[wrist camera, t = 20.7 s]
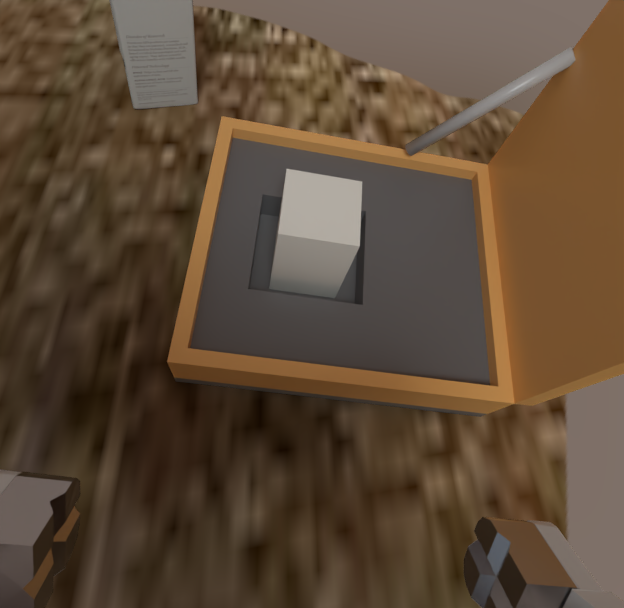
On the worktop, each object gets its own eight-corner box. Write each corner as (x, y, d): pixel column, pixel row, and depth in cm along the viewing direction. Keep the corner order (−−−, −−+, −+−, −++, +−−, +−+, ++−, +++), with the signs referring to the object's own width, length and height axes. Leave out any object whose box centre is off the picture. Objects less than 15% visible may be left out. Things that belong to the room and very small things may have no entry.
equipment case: (175, 381, 31) (-19, -55, 7) (223, 156, 39) (207, -387, 15) (495, 418, 33) (1149, 191, 10) (475, 199, 42) (795, -209, 18)
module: (269, 288, 34) (278, 233, 27) (276, 230, 36) (286, 166, 29) (334, 298, 34) (359, 246, 28) (338, 240, 36) (362, 179, 30)
